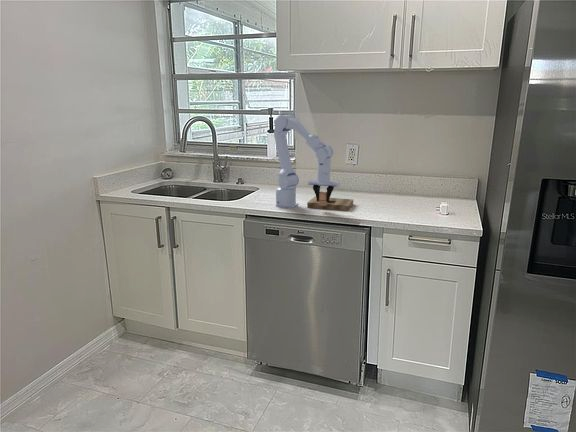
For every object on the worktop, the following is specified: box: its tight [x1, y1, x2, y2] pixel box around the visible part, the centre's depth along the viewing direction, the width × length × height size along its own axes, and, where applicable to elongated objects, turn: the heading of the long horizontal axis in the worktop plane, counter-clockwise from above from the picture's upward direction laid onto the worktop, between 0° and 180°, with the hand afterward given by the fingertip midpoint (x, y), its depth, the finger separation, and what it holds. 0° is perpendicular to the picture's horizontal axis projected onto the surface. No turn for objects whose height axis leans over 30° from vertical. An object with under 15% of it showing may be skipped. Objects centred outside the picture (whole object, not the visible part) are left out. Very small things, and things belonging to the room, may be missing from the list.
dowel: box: [319, 190, 327, 206], centre depth 199 cm, size 4×4×6 cm
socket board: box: [306, 196, 354, 212], centre depth 211 cm, size 20×14×2 cm
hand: (323, 201), depth 200 cm, fingers closed on dowel, 4 cm apart
